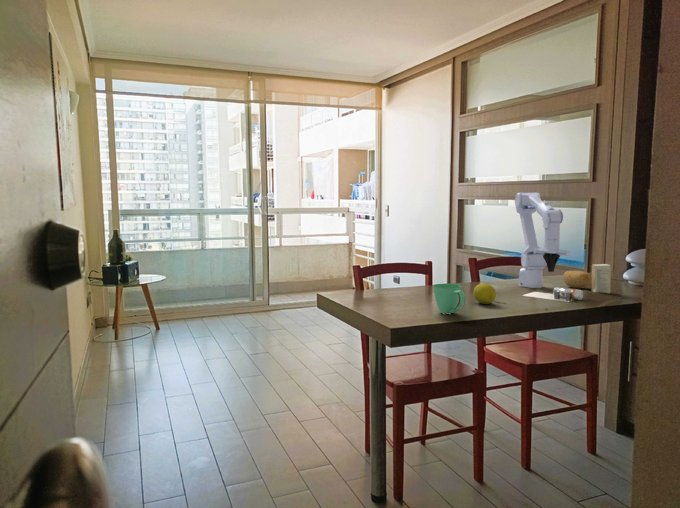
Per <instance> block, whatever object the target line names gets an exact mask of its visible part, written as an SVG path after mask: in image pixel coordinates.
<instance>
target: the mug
mask: <svg viewBox="0 0 680 508" xmlns="http://www.w3.org/2000/svg"><path fill="white" fill-rule="evenodd" d="M432 288H433V294H434V299H435V302H436V306H437V308H438V311H439V313H440V312H441V313H457V312H459V311H461V309H462V308H463V306H464V305H465V304H466V303H465V302H466V295H465V292H464V291H463V290H462V286H461V285H460V284H456V283H437V284H436V283H435V284H433V286H432ZM441 313H440V314H441Z"/></svg>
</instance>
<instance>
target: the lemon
mask: <svg viewBox="0 0 680 508" xmlns="http://www.w3.org/2000/svg"><path fill="white" fill-rule="evenodd" d="M496 296H497V291H496V290H495V288H494V287H493V286H492V285H491V284H490V283H489V284H488V283H483V282H482V283H478V284H477V285H476V286H475V287H474V288H473V297H474V299H475V300H476V301H477V302H478V303H481V304H482V305H483V304H484V305H490V304H492V303H493V302H494V301H495V299H496V298H497V297H496Z"/></svg>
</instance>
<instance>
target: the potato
mask: <svg viewBox="0 0 680 508" xmlns="http://www.w3.org/2000/svg"><path fill="white" fill-rule="evenodd" d="M562 280H563V282H564V283H565V285H566V286H568V287H571V289H585V288H587V287H588V286H590V284H591V283H592V274H590V273H588V272H586V271H583V270H568V271H567V270H566V271H565V272H564V273H563V276H562Z"/></svg>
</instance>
